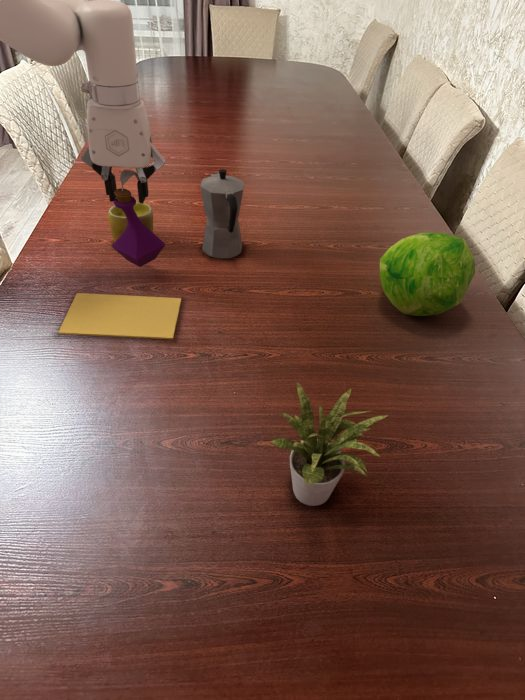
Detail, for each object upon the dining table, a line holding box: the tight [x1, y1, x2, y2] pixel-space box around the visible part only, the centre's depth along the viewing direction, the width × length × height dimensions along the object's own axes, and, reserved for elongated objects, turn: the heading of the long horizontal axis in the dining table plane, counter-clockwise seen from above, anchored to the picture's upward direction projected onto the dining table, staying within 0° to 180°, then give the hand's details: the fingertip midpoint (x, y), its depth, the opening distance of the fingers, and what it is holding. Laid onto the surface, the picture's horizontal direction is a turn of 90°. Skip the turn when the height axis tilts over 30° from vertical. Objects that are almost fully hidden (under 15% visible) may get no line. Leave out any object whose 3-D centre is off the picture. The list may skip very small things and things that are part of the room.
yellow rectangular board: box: [57, 292, 182, 340], centre depth 96 cm, size 20×12×1 cm, turn 90°
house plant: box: [269, 380, 390, 507], centre depth 64 cm, size 14×14×16 cm
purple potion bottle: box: [111, 168, 166, 268], centre depth 98 cm, size 8×8×18 cm
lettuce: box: [379, 232, 476, 317], centre depth 99 cm, size 17×20×16 cm
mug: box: [107, 199, 155, 243], centre depth 114 cm, size 12×10×10 cm
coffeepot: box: [199, 168, 246, 260], centre depth 110 cm, size 15×9×18 cm, turn 19°
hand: (128, 198), depth 96 cm, fingers closed on purple potion bottle, 4 cm apart
